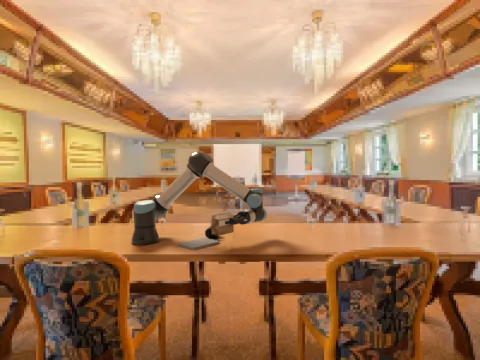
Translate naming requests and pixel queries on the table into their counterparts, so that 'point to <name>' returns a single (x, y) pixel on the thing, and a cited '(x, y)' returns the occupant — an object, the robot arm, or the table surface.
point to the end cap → (210, 233)
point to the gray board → (198, 243)
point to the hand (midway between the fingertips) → (215, 222)
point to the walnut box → (221, 229)
